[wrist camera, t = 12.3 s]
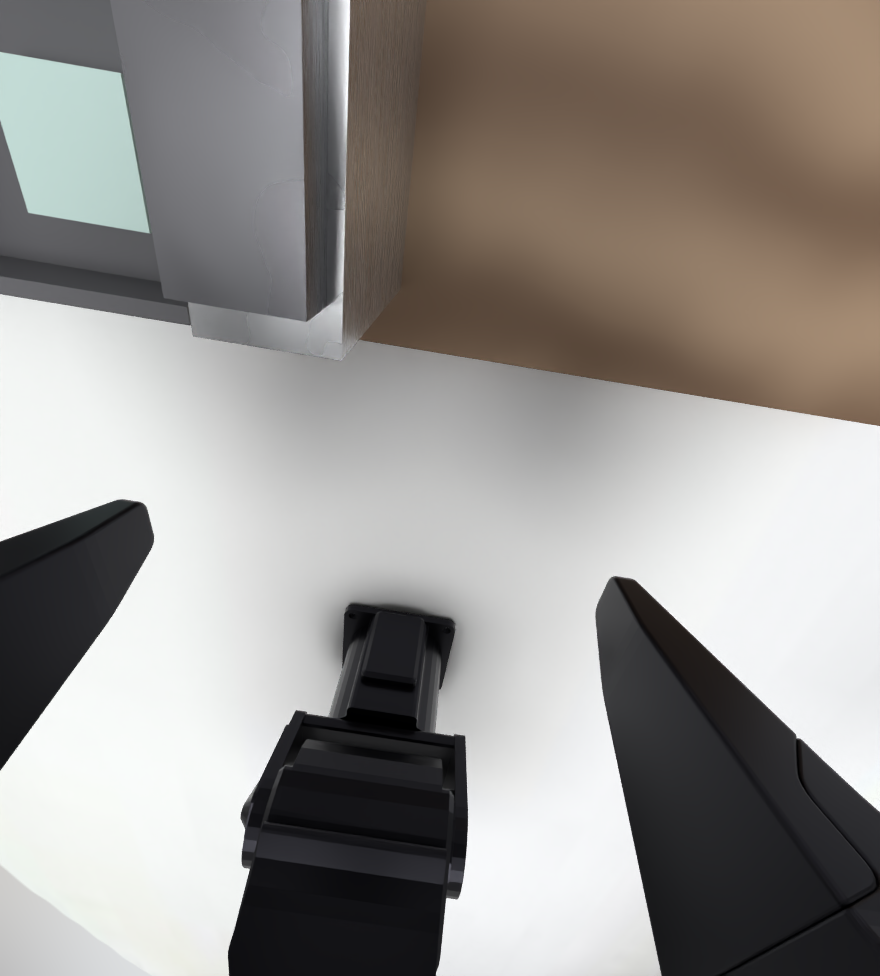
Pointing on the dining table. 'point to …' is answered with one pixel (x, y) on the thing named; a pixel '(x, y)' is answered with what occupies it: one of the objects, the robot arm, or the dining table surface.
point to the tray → (61, 242)
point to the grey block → (275, 160)
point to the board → (651, 196)
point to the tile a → (72, 142)
